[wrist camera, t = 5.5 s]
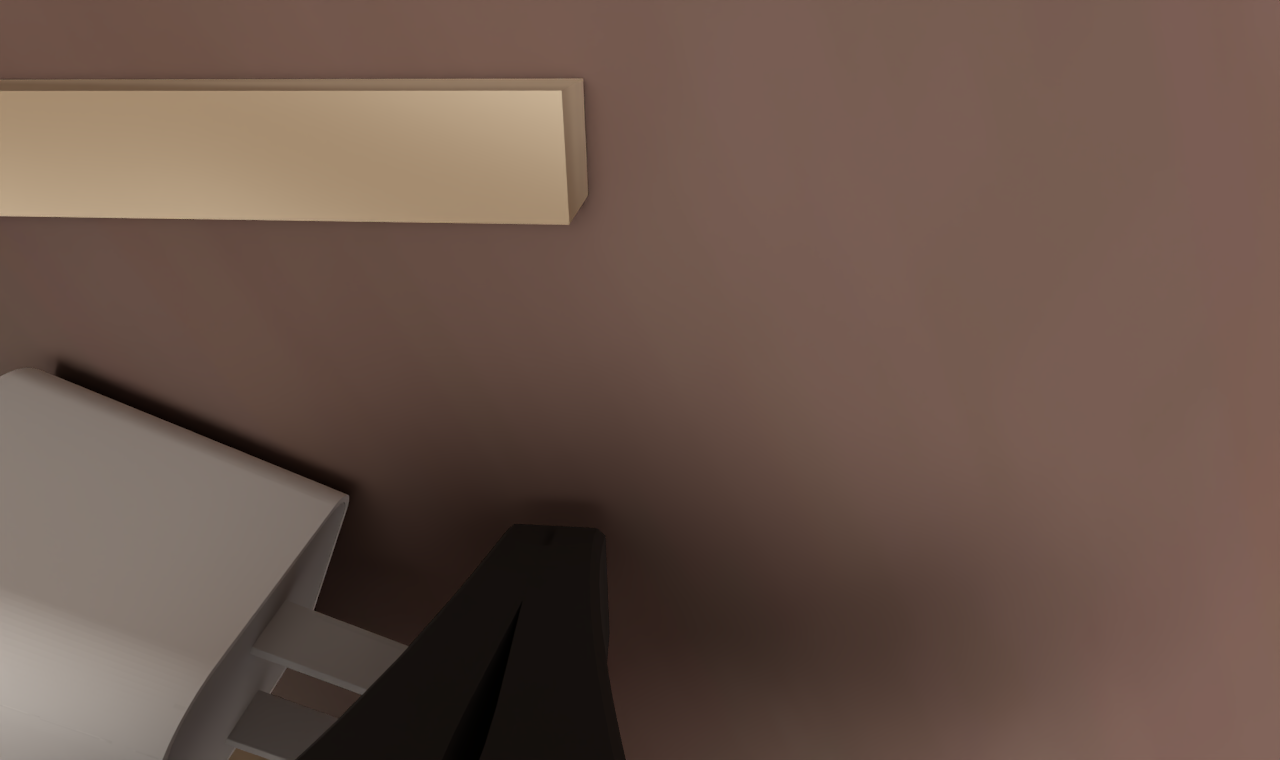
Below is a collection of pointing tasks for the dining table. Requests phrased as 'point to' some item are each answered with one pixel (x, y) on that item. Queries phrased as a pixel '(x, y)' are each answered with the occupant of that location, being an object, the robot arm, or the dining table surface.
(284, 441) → the dining table surface
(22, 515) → the usb wall charger
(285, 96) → the charger bay
